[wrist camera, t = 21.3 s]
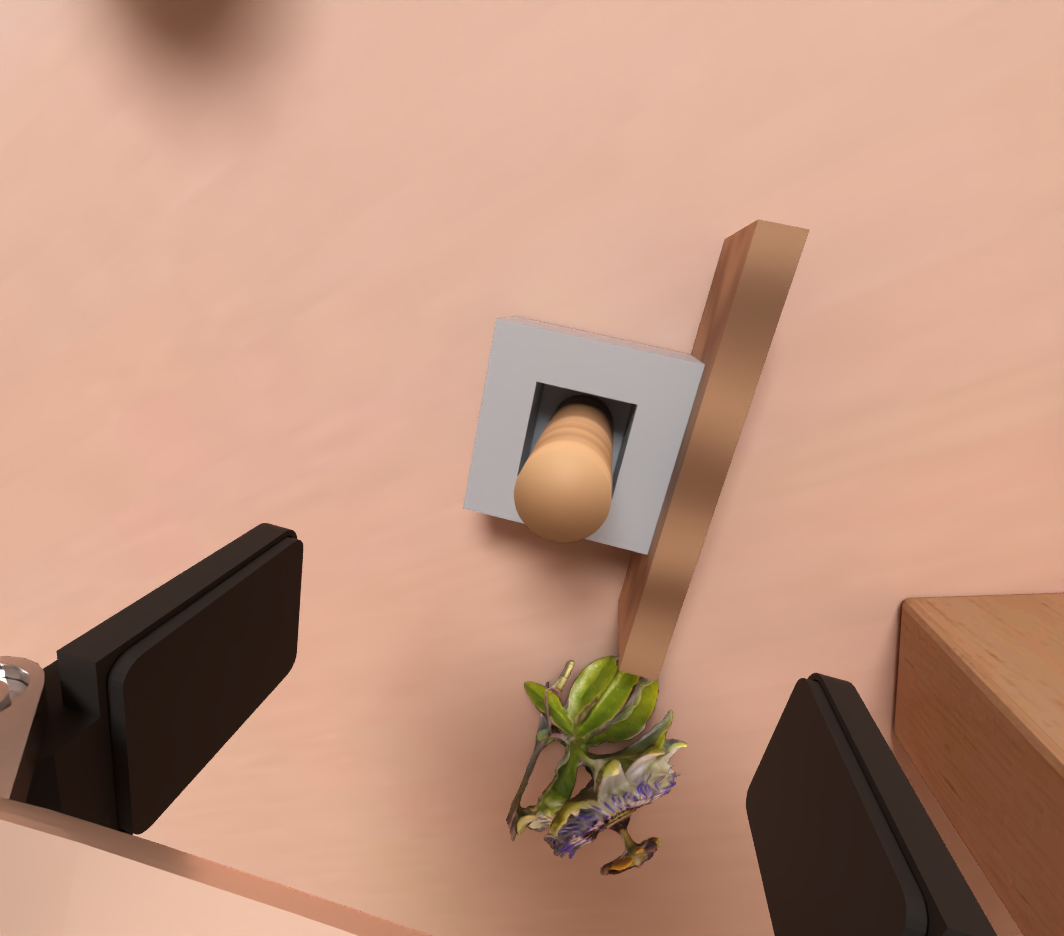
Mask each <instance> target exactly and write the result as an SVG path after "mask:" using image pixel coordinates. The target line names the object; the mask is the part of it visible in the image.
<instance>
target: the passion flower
mask: <svg viewBox="0 0 1064 936" xmlns="http://www.w3.org/2000/svg"><path fill="white" fill-rule="evenodd" d="M574 664H575V662H574V661H572V660H570V661H568V662H567V663H566V665H565V668H564V670H563V672H562V674H561V675H560V677H559V679H558V681H557V682H556V683H555V684H554V685H553V686H552V687H550V688H549V682H547V683H546V687H544V686H543V685H541V684H538V683H533V682H525V684H524V687H525V690H526V692H527V694H528V696H529V697H530V699H531V701H532V702H533V704H534V705H535V707H536V708H537V709H538V710H539V711H540V712H541V714H540V723H539V729H538V732H537V736H536V745H535V749H534V752H533V755H532V757H531V759H530V762H529V764H528V766H527V769H526V773H525V775H524V778H523V781H522V783H521V785H520V788H519V790H518V793H517V794H516V796H515V798H514V800H513V802H512V804H511V808H510V811H509V814H508V817H507V819H506V821H507V822H508V823H507V824H508V825H509V828H510V833H511V839H512V840H513V841H514V839H515V836H516V834H518V835H519V834H521V833H522V832H523V831H524V829H525V828H526V827H528V828H529V829H532V830H535V831H538V832H542V831H543V830H545V829H548V828H550V829H549V832H548V834H547V835H546V836H545V837H544V840H545V841H546V842H547V843H548V844H549V845H550V846H551V848H552V849H554V855H556V856H558V855H559V854H560V853H562V854H561V855H560V857H561V858H562V857H563V856H564V855H565V854H566V853H567V852H569V853H570V854H569V858H570V859H571V858H572V856H573V855H574V853H575V851H576V850H577V849H579V848H580V847H582V846H583V845H585V844H590V843H591V842H593V841H594V840H595V839H596V838H597V834H598V833H599V832H601V831H603V830H605V829H607V828H609V829H612V830H614V831H616V832H617V833H618V834H620V835H621V836H622V838H623V840H624V843H625V852H624V853H623V855H621V856H620V857H618V858H617V859H615V860H614V861H612V862H610V863H607V864H605V865H604V866H603V867H602V868H601V870H600V873H601V875H603V876H605V875H608V874H619V873H621V872H623V871H625V870H627V869H631V868H632V867H638V868H641V866H642V864H643V863H644V862H645V861H647V860H649V859H650V858H651V857H652V856H653V854H654V852H655V851H656V850H657V847H660V845H661V841H660V839H659V838H655V837H652V838H649V839H648V840H645V841H643V842H642V843H641V844H637V843H635V842H634V841H633V840H632V838H631V837H630V835H629V834H628V832H627V826H628V823H629V821H630V815H631V814H632V812H634V811H636V808H640V807H641V806H643V805H646V804H650V803H652V802H653V801H654V800H656V799H657V798H659V797H661V796H662V795H665V794H667V793H669V791H670V787H672V786H674V785H675V784H676V783H675V782H674V777H677V776H679V775H680V774H678V775H675V774H676V773H675V772H674V771H673V770H672V769H671V768H672V767H673V766H672V765H670V764H668V761H669V759H670V758H671V757H672V755H673V754H674V753H675V752H676V751H677V750H678V749H679V748H680V747H684V748H686V747H688V744H687V743H685V742H683V741H679V740H675V739H671V740H666V739H665V735H666V732H667V730H668V728H669V727H670V725H671V724H672V717H673V712H672V710H669V712H668V714H667V715H666V716H665V718H664V719H663V721H662V722H661V723H659V724H657V725H655V726H654V728H653V729H652V730H651V731H650V732H649V733H648V734H645V735H643V736H642V738H641V739H640V740H639V741H638V742H636V743H634V744H633V745H631V746H629V747H627V748H625V749H623V750H621V751H618V752H616V753H612V754H605V755H596V754H592V753H589V752H588V751H587V750H588V748H589V747H596V746H598V745H599V744H601V743H602V742H605V741H608V742H612V743H614V742H621V741H626V740H630V739H633V737H634V736H636V735H638V734H639V733H641V732H642V731H643V730H644V729H645V727H646V722H647V721H648V720H649V718H650V716H651V714H652V712H653V711H654V708H655V704H656V701H657V694H658V692H659V689H658V678H657V681H655V680H652V679H648V678H644V677H642V678H641V679H640V676H637V675H633V674H630V673H626V672H622V671H619V656H617V657H615V656H608V657H603V658H600V659H598V660H596V661H594V662H592V663H590V664H589V665H588V666H587V667H586V668H584V669H583V671H582V672H581V673H580V675H579V676H578V677H577V678H576V679H575V681H574V683H573V686H572V688H571V690H570V694H569V696H568V699H567V701H566V704H565V706H562V704H561V701H560V699H559V697H558V696H557V695H555V694H554V693H553V691H555V692H556V693H557V694H558V695H562V690H563V687H564V685H565V683H566V680H567V678H568V677H569V676H570V674H571V670H572V668H573V666H574ZM639 679H640V680H639ZM634 685H636V686H635V690H634V692H633V694H632V695H631V697H630V698H629V696H630V694H631V691H632V687H633V686H634ZM552 690H553V691H552ZM628 698H629V700H628ZM627 700H628V701H627ZM626 701H627V703H626ZM625 703H626V704H625ZM558 728H559V729H560V730H562V731H563V733H559V730H558ZM554 740H557V741H558V742H560V743H561V744H563V745H564V746H566V752H565V755H564V757H563V758H562V759H561V761H560V762H559V764H558V766H557V768H556V770H555V776H554V779H553V780H552V782H551V783H550V784H549V786H548V787H547V788H546V789H545V790H544V791H543V793H542V795H541V796H540V797H539V798H538V803H537V805H535V806H528V807H527V808H522V807H521V806H520V800H521V797H522V794H523V792H524V790H525V787H526V785H527V784H528V780H529V777H530V775H531V773H532V771H533V768H534V765H535V763H536V760H537V758H538V756H539V754H540V752H541V751H542V749H543V748H544V747H546V746H547V745H548V744H549V743H551V742H552V741H554ZM581 765H583V766H585V768H586V771H587V772H588V773H590V774H591V776H592V779H591V781H590V782H589V783H588V784H587V785H586V788H584V789H582V790H581V791H580V792H579V794H578V795H576V796H575V797H574V798H572V799H570V797H571V794H572V791H573V789H574V786H575V781H576V775H577V768H578V767H579V766H581ZM674 775H675V776H674ZM569 799H570V800H569Z"/></svg>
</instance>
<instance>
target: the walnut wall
mask: <svg viewBox="0 0 1064 936" xmlns="http://www.w3.org/2000/svg"><path fill="white" fill-rule="evenodd" d="M808 233H809V229H804V228H799V227H794V226H789V225H783V224H778V223H773V222H768V221H763V220H757V221H755V222H753V223H752V224H750V225H748V226H746V227H745V228H743V229H741V230H740V231H738V232H736V233H735V234H733V235H731V236H729V237H728V238H726V239H725V241H724V244H723V248H722V251H721V254H720V258H719V261H718V265H717V268H716V271H715V275H714V278H713V282H712V285H711V288H710V292H709V295H708V299H707V302H706V305H705V309H704V312H703V316H702V319H701V322H700V326H699V329H698V333H697V336H696V339H695V343H694V346H693V350H692V353H691V355H692V356H694V357H695V358H696V359H698V360H699V361H701V362H702V363H703V364H705V367H704V370H703V373H702V377H701V380H700V383H699V387H698V390H697V393H696V396H695V400H694V403H693V406H692V410H691V413H690V416H689V420H688V423H687V426H686V429H685V433H684V436H683V439H682V443H681V446H680V449H679V452H678V456H677V459H676V462H675V466H674V469H673V472H672V475H671V479H670V482H669V485H668V489H667V492H666V495H665V498H664V502H663V505H662V508H661V512H660V515H659V518H658V521H657V525H656V528H655V531H654V535H653V538H652V541H651V545H650V548H649V551H648V554H647V555H646V554H642V553H638V552H634V551H633V554H632V557H631V561H630V564H629V567H628V571H627V574H626V578H625V581H624V584H623V588H622V591H621V595H620V598H619V671H622V672H626V673H630V674H633V675H637V676H641V677H644V678H648V679H652V680H655V681H657V678H658V675H659V673H660V670H661V667H662V664H663V661H664V658H665V655H666V652H667V649H668V646H669V643H670V640H671V637H672V634H673V631H674V628H675V625H676V622H677V619H678V616H679V613H680V611H681V608H682V605H683V602H684V599H685V596H686V593H687V590H688V587H689V584H690V581H691V578H692V575H693V572H694V569H695V566H696V563H697V560H698V557H699V554H700V551H701V549H702V546H703V543H704V540H705V537H706V534H707V531H708V528H709V525H710V522H711V519H712V516H713V513H714V510H715V507H716V504H717V501H718V498H719V495H720V492H721V489H722V487H723V484H724V481H725V478H726V475H727V472H728V469H729V466H730V463H731V460H732V457H733V454H734V451H735V448H736V445H737V442H738V439H739V436H740V433H741V430H742V427H743V424H744V422H745V419H746V416H747V413H748V410H749V407H750V404H751V401H752V398H753V395H754V392H755V389H756V386H757V383H758V380H759V377H760V374H761V371H762V368H763V365H764V362H765V360H766V357H767V354H768V351H769V348H770V345H771V342H772V339H773V336H774V333H775V330H776V327H777V324H778V321H779V318H780V315H781V312H782V309H783V306H784V303H785V300H786V298H787V295H788V292H789V289H790V286H791V283H792V280H793V277H794V274H795V271H796V268H797V265H798V262H799V259H800V256H801V253H802V250H803V247H804V244H805V241H806V238H807V236H808Z"/></svg>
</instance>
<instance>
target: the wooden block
mask: <svg viewBox="0 0 1064 936" xmlns="http://www.w3.org/2000/svg"><path fill="white" fill-rule="evenodd" d="M894 733H895V735H896V737H897V739H898V740H899V742H900V743H901V745H902V746H903V748H904V749H905V751H906V753H907V754H908V756H909V757H910V759H911V760H912V762H913V763H914V765H915V767H916V768H917V770H918V771H919V773H920V774H921V776H922V777H923V779H924V781H925V782H926V784H927V785H928V787H929V788H930V790H931V791H932V793H933V795H934V796H935V798H936V799H937V801H938V802H939V804H940V805H941V807H942V809H943V810H944V812H945V813H946V815H947V816H948V818H949V820H950V821H951V823H952V824H953V826H954V827H955V829H956V830H957V832H958V834H959V835H960V837H961V838H962V840H963V841H964V843H965V844H966V846H967V848H968V849H969V851H970V852H971V854H972V855H973V857H974V858H975V860H976V862H977V863H978V865H979V866H980V868H981V869H982V871H983V872H984V874H985V876H986V877H987V879H988V880H989V882H990V883H991V885H992V886H993V888H994V890H995V891H996V893H997V894H998V896H999V897H1000V899H1001V901H1002V902H1003V904H1004V905H1005V907H1006V908H1007V910H1008V911H1009V913H1010V915H1011V916H1012V918H1013V919H1014V921H1015V922H1016V924H1017V925H1018V927H1019V929H1020V930H1021V932H1022V933H1023V935H1024V936H1064V593H1043V594H1014V595H984V596H955V597H925V598H908V599H905V600H904V602H903V603H902V618H901V633H900V649H899V664H898V679H897V694H896V709H895V725H894Z"/></svg>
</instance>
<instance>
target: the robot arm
mask: <svg viewBox="0 0 1064 936" xmlns="http://www.w3.org/2000/svg"><path fill="white" fill-rule="evenodd" d="M302 562H303V543H302V541H301V540H298V539H297V535H296V533H295V532H294V531H293V530H290V529H287V528H283V527H279V526H276V525H272V524H268V523H262V524H260V525H258V526H256V527H255V528H253V529H252V530H250V531H248V532H247V533H245V534H244V535H242V536H240V537H239V538H237V539H236V540H234V541H232V542H231V543H229V544H228V545H226V546H224V547H223V548H221V549H220V550H218V551H216V552H215V553H213V554H211V555H210V556H208V557H207V558H205V559H203V560H202V561H200V562H199V563H197V564H195V565H194V566H192V567H191V568H189V569H187V570H186V571H184V572H183V573H181V574H179V575H178V576H176V577H175V578H173V579H171V580H170V581H168V582H167V583H165V584H163V585H162V586H160V587H159V588H157V589H155V590H154V591H152V592H151V593H149V594H147V595H146V596H144V597H142V598H141V599H139V600H138V601H136V602H134V603H133V604H131V605H130V606H128V607H126V608H125V609H123V610H122V611H120V612H118V613H117V614H115V615H114V616H112V617H110V618H109V619H107V620H106V621H104V622H102V623H101V624H99V625H98V626H96V627H94V628H93V629H91V630H90V631H88V632H86V633H85V634H83V635H82V636H80V637H78V638H77V639H75V640H73V641H72V642H70V643H69V644H67V645H65V646H64V647H62V648H61V649H59V650H57V659H58V660H56V661H55V662H53V663H52V664H50V665H48V666H47V667H45V668H44V669H42V668H41V667H40V666H39V664H38V663H36V662H33V661H31V660H28V659H26V658H20V657H11V656H2V657H0V936H431V935H428V934H425V933H422V932H419V931H416V930H413V929H410V928H407V927H405V926H402V925H399V924H396V923H393V922H390V921H387V920H384V919H381V918H378V917H375V916H372V915H369V914H366V913H364V912H361V911H358V910H355V909H352V908H349V907H346V906H343V905H340V904H337V903H334V902H331V901H328V900H325V899H322V898H319V897H316V896H313V895H310V894H308V893H305V892H302V891H299V890H296V889H293V888H290V887H287V886H284V885H281V884H278V883H275V882H272V881H269V880H266V879H263V878H260V877H257V876H254V875H251V874H248V873H245V872H242V871H239V870H236V869H233V868H230V867H227V866H224V865H221V864H218V863H215V862H212V861H209V860H206V859H203V858H200V857H197V856H194V855H191V854H188V853H185V852H182V851H179V850H176V849H173V848H170V847H167V846H164V845H161V844H158V843H155V842H152V841H149V840H146V839H143V838H139V837H136V836H133V833H134V834H141V833H143V832H144V831H146V830H147V829H148V828H149V827H150V826H151V825H152V824H153V823H154V822H155V821H156V820H157V819H158V818H159V817H160V816H161V814H162V813H163V812H164V811H165V810H166V809H167V808H168V807H169V806H170V804H171V803H172V802H173V801H174V800H175V799H176V798H177V797H178V796H179V794H180V793H181V792H182V791H183V790H184V789H185V788H186V787H187V786H188V784H189V783H190V782H191V781H192V780H193V779H194V778H195V777H196V776H197V774H198V773H199V772H200V771H201V770H202V769H203V768H204V767H205V765H206V764H207V763H208V762H209V761H210V760H211V759H212V758H213V757H214V755H215V754H216V753H217V752H218V751H219V750H220V749H221V748H222V747H223V745H224V744H225V743H226V742H227V741H228V740H229V739H230V738H231V737H232V735H233V734H234V733H235V732H236V731H237V730H238V729H239V728H240V727H241V725H242V724H243V723H244V722H245V721H246V720H247V719H248V718H249V717H250V715H251V714H252V713H253V712H254V711H255V710H256V709H257V708H258V707H259V705H260V704H261V703H262V702H263V701H264V700H265V699H266V698H267V697H268V695H269V694H270V693H271V692H272V691H273V690H274V689H275V688H276V687H277V685H278V684H279V683H280V682H281V681H282V680H283V679H284V678H285V677H286V675H287V674H288V673H289V672H290V670H291V668H292V667H293V664H294V662H295V659H296V654H297V641H298V625H299V609H300V593H301V578H302ZM746 809H747V815H748V820H749V824H750V828H751V833H752V837H753V842H754V846H755V851H756V855H757V859H758V864H759V868H760V873H761V877H762V881H763V886H764V890H765V895H766V899H767V904H768V908H769V912H770V917H771V921H772V926H773V930H774V934H775V936H997V935H996V933H995V931H994V929H993V928H992V926H991V924H990V922H989V921H988V919H987V917H986V915H985V914H984V912H983V910H982V908H981V907H980V905H979V903H978V902H977V900H976V898H975V896H974V895H973V893H972V891H971V889H970V888H969V886H968V884H967V882H966V881H965V879H964V877H963V875H962V874H961V872H960V870H959V868H958V867H957V865H956V863H955V861H954V860H953V858H952V856H951V854H950V853H949V851H948V849H947V847H946V846H945V844H944V842H943V840H942V839H941V837H940V835H939V833H938V832H937V830H936V828H935V826H934V825H933V823H932V821H931V819H930V818H929V816H928V814H927V812H926V811H925V809H924V807H923V805H922V804H921V802H920V800H919V798H918V797H917V795H916V793H915V791H914V790H913V788H912V786H911V785H910V783H909V781H908V779H907V778H906V776H905V774H904V772H903V771H902V769H901V767H900V765H899V764H898V762H897V760H896V758H895V757H894V755H893V753H892V751H891V750H890V748H889V746H888V744H887V743H886V741H885V739H884V737H883V736H882V734H881V732H880V730H879V729H878V727H877V725H876V723H875V722H874V720H873V718H872V716H871V715H870V713H869V711H868V709H867V708H866V706H865V704H864V702H863V701H862V699H861V697H860V695H859V694H858V692H857V690H856V688H855V687H854V686H853V685H852V683H850V682H848V681H844V680H841V679H837V678H833V677H830V676H826V675H822V674H819V673H813V674H812V675H810V676H809V678H808V679H805V678H801V679H799V680H798V681H797V683H796V685H795V687H794V689H793V691H792V694H791V696H790V698H789V700H788V702H787V705H786V707H785V709H784V711H783V713H782V716H781V718H780V720H779V722H778V724H777V727H776V729H775V731H774V733H773V735H772V738H771V740H770V742H769V744H768V746H767V749H766V751H765V753H764V755H763V757H762V760H761V762H760V764H759V766H758V768H757V771H756V773H755V775H754V777H753V779H752V782H751V784H750V786H749V789H748V792H747V798H746Z"/></svg>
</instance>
